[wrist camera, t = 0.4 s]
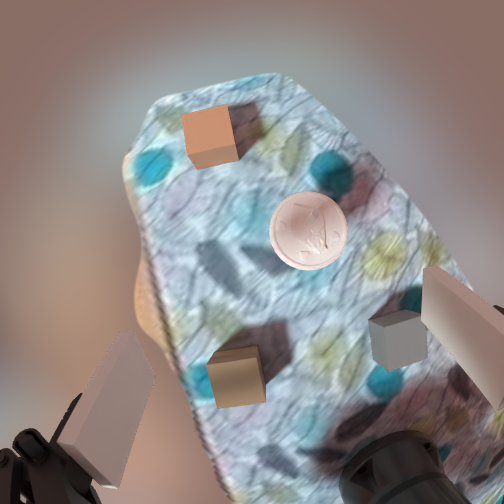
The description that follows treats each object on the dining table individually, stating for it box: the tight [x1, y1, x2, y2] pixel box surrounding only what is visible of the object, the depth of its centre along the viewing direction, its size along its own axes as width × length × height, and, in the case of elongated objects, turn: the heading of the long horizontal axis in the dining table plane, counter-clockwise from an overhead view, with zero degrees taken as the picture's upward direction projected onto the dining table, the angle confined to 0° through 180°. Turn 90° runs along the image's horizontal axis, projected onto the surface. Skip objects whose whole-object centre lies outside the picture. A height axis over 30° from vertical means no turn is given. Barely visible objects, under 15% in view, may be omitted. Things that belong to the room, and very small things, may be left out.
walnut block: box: [206, 345, 266, 409], centre depth 30 cm, size 5×5×5 cm
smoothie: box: [269, 191, 348, 271], centre depth 26 cm, size 6×6×14 cm
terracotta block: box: [182, 104, 239, 170], centre depth 32 cm, size 5×5×5 cm
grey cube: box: [368, 309, 428, 372], centre depth 30 cm, size 5×5×5 cm
